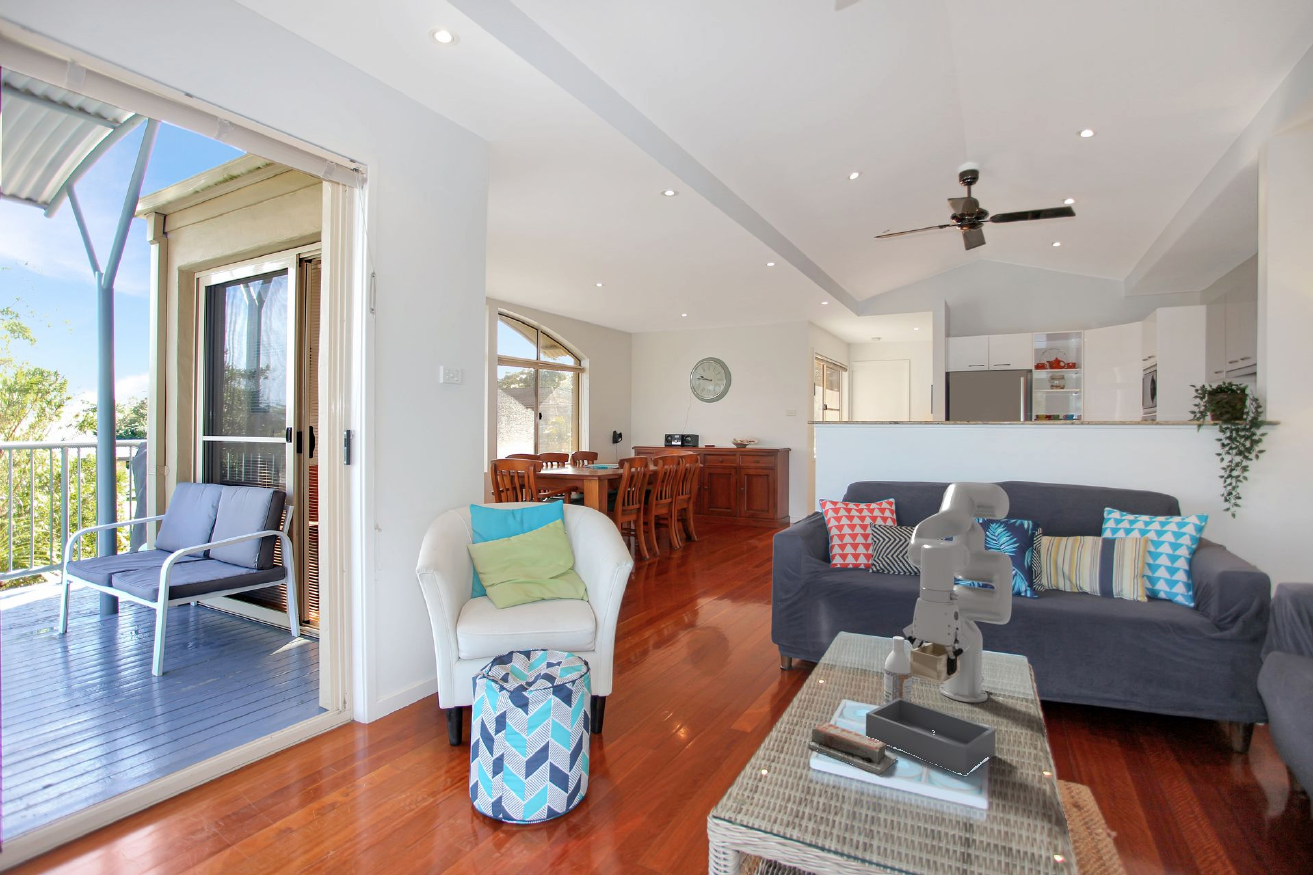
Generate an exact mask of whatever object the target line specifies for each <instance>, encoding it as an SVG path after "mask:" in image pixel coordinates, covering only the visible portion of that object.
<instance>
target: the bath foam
mask: <svg viewBox="0 0 1313 875" xmlns="http://www.w3.org/2000/svg"><path fill="white" fill-rule="evenodd" d="M883 673H884V674H883V676H884V678H883V705H884V704H886V703H888V702H891V701H893V700H895V699H897V698H902V699H905V700H908V701H911V702H912V686H913V684H912V681H913V680H912V679H913V676H910V659H909V658H908V655H907V654H906V652H905V638H904V637H903V636H898V635H896V636H893V637H892V651H891V652H890V653H889V654H888V656H887V658H886V659H885V663H884V671H883Z"/></svg>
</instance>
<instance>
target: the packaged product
mask: <svg viewBox="0 0 1313 875" xmlns="http://www.w3.org/2000/svg"><path fill="white" fill-rule="evenodd" d="M806 746H807V748H808V749H811V750H813V751H816V750H818V751H820V752H819V753H821V754H823V753H826V754H827V755H826V754H825V755H826V756H828V755H829V756H828V757H831V756H832V757H831V758H833V757H834V759H836V758H837V759H836V760H838V759H839V761H841V760H843V761H845V762H844V763H846V762H848V763H847V764H849V763H851V764H853V765H852V766H855V767H856V766H857V767H856V768H860V769H862V770H864V771H867V772H870V773H873V774H876V775H880V774H882V773H883V772H885V770H887V769H888V768H889V767H891V766H892V765H893V764H894V763H895V762H896V761H897V760H898V755H896V754H891V753H890V752H886V750H887V748H888V746H887V744H885V743H883V742H880V741H877V740H875V739H872V738H869V737H866V735H863V734H860V733H857V732H856V731H855V732H854V731H852V730H849V729H847V728H844V727H841V726H839V725H836V724H833V723H830V722H826V721H825V722H822V723H820V724H818V725H817V726H815V727H813V728H812V730H811V740H809V741H808V743H807V745H806ZM818 751H817V752H818ZM896 759H897V760H896ZM895 760H896V761H895ZM843 761H842V762H843ZM894 761H895V762H894ZM893 762H894V763H893ZM851 764H850V765H851Z"/></svg>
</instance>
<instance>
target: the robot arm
mask: <svg viewBox="0 0 1313 875" xmlns="http://www.w3.org/2000/svg"><path fill="white" fill-rule="evenodd" d="M1009 510H1010V499H1009V496H1008V493H1007V492H1006V491H1005V490H1004V489H1003V488H1002V487H1001V486H999V485H998V484H995V483H991V482H977V481H976V482H975V481H974V482H973V481H957V482H953V483H951V484H950V485H948V487H947V488H946V490H945V491H944V493H943V496H942V502H941V505H940V508H939V510H938V512H937V513H935V514H933V515H931V516H929V517H927V518H925V519H924V520H922V521H921V522H919V523H918V524H917V525H916V526H915V527H914V529H913V531H912V534H911V536H910V540H909V543H908V546H907V559H908V562H909V563H910V564H911V565H912V566H914V567H916V568H920V575H919V576H920V577H919V578H920V579H919V580H920V581H919V582H920V583H919V597H917V600H916V602H915V607H914V612H913V618H912V619H913V620H912V623H910V624H909V625H908V626H906V627H904V628H903V629H902V632H903V634H904V635H905V637H906V638H907V641H908V642H909V643H910V645H911V646H912V650H913V649H916V648H918V647H921V646H923V645H925V644H924V643H925V642H927V643H933V644H938V645H942V646H945V648H946V650H947V652H948V655H949V658H947V675H952V674H954V673H955V672H956V670H957V657H959V656H960V674H959V675H957V676H955V677H953V678H951V679H948V680H946V681H945V682H943V683H941V684H939V685H940V686H939V692H940V693H941V694H942V695H944V696H945V697H947V698H950V699H952V700H954V701H960V702H965V703H983V702H985V701H987V700H988V693H987V692H986V691H985V690H984V689H982V688H983V687H982V686H983V685H982V683H984V682H985V677H984V676H983V634H982V632H981V629H979V627H978V625H977V624H976V623H975V622H983V623H988V624H996V625H1006V624H1007V623H1008V624H1009V621H1010V620H1011V617H1012V609H1013V608H1012V605H1013V604H1012V602H1013V600H1012V599H1013V576H1014V571H1013V570H1014V569H1013V568H1014V566H1013V562H1012V559H1011V557H1010V556H1009V554H1007V553H1005V552H1003V551H996V550H986V549H985V544H986V543H985V542H986V540H985V539H986V533H985V531H984V529H983V527H982V526H981V525H980V523H979V522H978V521H977V520H976V519H986V520H987V519H990V520H1003V519H1005V518H1006V517H1007V515H1008V513H1009ZM948 538H952V540H944V539H948ZM955 578H956V579H958V580H962V581H965V582H966V581H967V582H974V583H980V584H989V585H992V586H993V587H994V588H985V587H979V586H972V585H964V584H955Z"/></svg>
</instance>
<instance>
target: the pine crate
mask: <svg viewBox="0 0 1313 875" xmlns="http://www.w3.org/2000/svg"><path fill="white" fill-rule="evenodd" d="M947 658H949V655H948V652H947V650H946V648H945V646H942V645H938V644H933V643H929V642H927V643H926V644H923V645H922V646H921V647H918V648H916V649H913V648H912V649H911V650H910V659H909V661H910V676H912V678H913V677H914V678H917V679H921V680H925V681H927V682H931V683H933V684H934V683H935V684H937V685H941V684H943V683H945V682H946V680H948V679H951V678H953V677H955V676H957V675H959V674H960V656H959V657H957V670H956V672H955V673H954V674H952V675H947Z"/></svg>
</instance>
